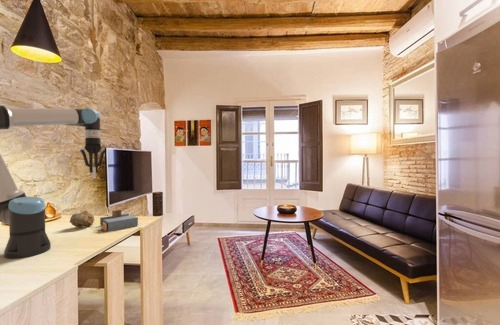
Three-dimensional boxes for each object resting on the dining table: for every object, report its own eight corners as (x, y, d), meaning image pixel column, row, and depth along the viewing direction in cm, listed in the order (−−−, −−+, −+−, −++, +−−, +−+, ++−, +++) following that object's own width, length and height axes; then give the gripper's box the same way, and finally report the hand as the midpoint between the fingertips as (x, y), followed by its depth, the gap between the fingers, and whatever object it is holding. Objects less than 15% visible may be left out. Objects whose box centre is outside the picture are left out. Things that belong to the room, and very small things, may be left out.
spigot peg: (114, 225, 151) (114, 211, 151) (112, 224, 154) (112, 210, 154) (121, 224, 154) (121, 210, 154) (119, 223, 157) (119, 209, 157)
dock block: (108, 231, 140) (108, 222, 140) (100, 225, 152) (100, 217, 152) (137, 225, 151) (137, 217, 151) (128, 221, 163) (127, 213, 163)
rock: (84, 229, 144) (84, 212, 144) (67, 229, 144) (66, 212, 144) (97, 224, 156) (97, 208, 156) (81, 224, 156) (81, 208, 156)
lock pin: (104, 231, 139) (104, 224, 139) (102, 229, 142) (101, 222, 142) (130, 226, 149) (130, 219, 149) (128, 224, 152) (128, 218, 152)
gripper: (80, 136, 138) (81, 179, 138) (107, 137, 147) (108, 177, 147) (78, 137, 143) (79, 178, 143) (103, 138, 152) (104, 177, 152)
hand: (93, 178), depth 145 cm, fingers closed
